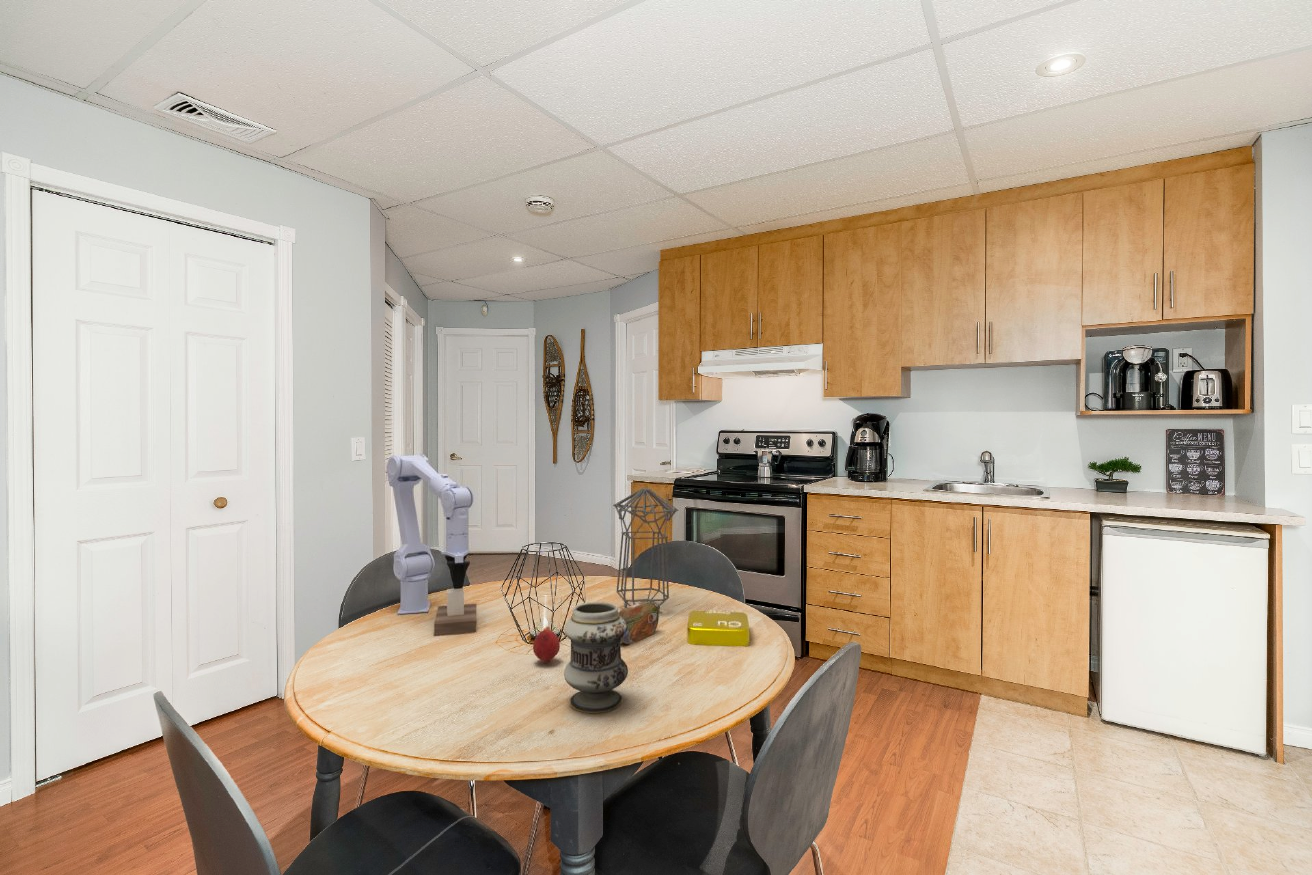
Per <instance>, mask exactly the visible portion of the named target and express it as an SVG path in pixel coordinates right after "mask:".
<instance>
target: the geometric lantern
mask: <svg viewBox="0 0 1312 875" xmlns="http://www.w3.org/2000/svg"><path fill="white" fill-rule="evenodd" d="M642 497H643V498H642ZM642 499H643V502H642V505H639V503H640V501H641V500H642ZM651 499H652V500H653V502H654V503H655V504H653V502H652V501H651ZM647 500H648V502H649V504H647ZM633 504H634V505H633ZM612 506H613V507H614V508H615V510H616V513H617V515H618V519H619V520H620V524H621V532H620V533H621V538H620V550H619V560H618V570H617V572H618V573H617V582H616V584H617V585H616V594H617V595H618V596H619V598H621V600H622V601H623V604H624V606H623V609H624V608H627V607H629V606H632V605H631V604H630V603H631V602H632V604H633V605H635V604H636V603H640V602H652V603H654V604H655V605H656V607H657V609H658V613H661V612H660V611H661V610H660V609H661V606H662V605H663V604H664V603H665V602H666V601H667V600H668V599H670V593H669V591H670V590H669V558H668V557H669V556H668V555H669V554H668V552H669V551H668V549H669V548H668V536H667V535H666V530H667V524H668V523H667V522H670V521H671V518H673V517H674V515H675V514H676V512H679V509H678V508H676V507H675V506H674V505H672V504H671V503H670V502H668V501H667V500H665V499H664V497H661V495H659V494H657V493H656V492H655V491H653V490H652V489H650V488H648V487H645V488H644V487H643V488H640V489H639V490H637V491H636V492H634V493H632V494H630V495H629V496H626V497H625V498H623V499H621V500H620V501H618V502H616V503H615V504H613V505H612ZM658 506H659V507H661V508H662V510H660V511H659V510H658V511H655V509H656V508H658ZM630 508H631V510H629V509H630ZM647 508H651V509H650V510H649V511H647ZM637 512H638V513H642V514H643V515H641V514H638V513H637ZM627 513H628V514H630V515H631V516H632V518H631V521H630V522H629V524H628V527H627V525H626V522H625V517H626V514H627ZM661 513H662V514H663V515H661V516H659V517H658V518H657V516H656V514H661ZM649 514H650V515H651V514H654V515H653V517H654V519H653V520H647V519H646V517H647V516H649ZM635 517H637V518H639V519H640V520H641V521H642V523H641V524H640V526H639V527H638V528H637V530H636V531H629V529H630V528H631V526H632V524H633V522H634V519H635ZM663 518H664V519H663ZM662 519H663V520H662ZM660 520H662V523H661V525H660V526H659V524H658V521H660ZM653 523H655V526H656V527H657V530H658V531H654V529H653V527H652V526H651V525H650V524H653ZM644 524H648V526H649V528H650V531H649V530H648V531H642V530H641V531H640V529H641V528H642V526H643V525H644ZM664 524H665V526H664ZM623 526H624V527H623ZM663 526H664V534H663V533H662V531H661V530H662V528H663ZM624 529H625V531H624ZM641 533H642V534H645V533H646V534H647V533H649V534H650V533H652V536H651V537H635V535H636V534H641ZM630 534H633V535H632V536H630ZM655 534H656V535H657V537H656V536H655ZM624 536H625V540H624ZM651 539H652V542H651V543H652V546H651V561H650V562H651V564H650V565H651V566H650V567H651V568H650V584H649V587H647V588H646V587H645V588H642V587H641V588H635V556H636V555H635V554H636V552H635V547H636V546H635V545H636V544H635V543H636V542H635V540H651ZM664 539H665V551H664ZM631 540H632V558H631V559H632V564H631V565H632V572H631V577H632V579H631V588H627V582H628V581H627V580H628V571H629V570H628V568H629V558H630V557H629V556H630V543H631ZM655 540H657V588H653V578H654V577H653V575H654V574H653V573H654V556H655V555H654V554H655ZM624 541H625V542H624ZM660 541H661V542H660ZM660 543H661V544H660ZM623 544H624V546H623ZM660 545H661V547H660ZM623 547H624V552H623ZM660 548H661V553H660ZM664 552H665V554H664ZM660 554H661V559H660ZM622 555H623V561H622ZM664 560H665V561H664ZM660 562H661V563H660ZM621 565H622V572H621ZM660 566H661V567H660ZM661 570H662V571H661ZM665 571H666V573H665ZM661 572H662V590H661ZM620 575H622V576H620ZM620 577H621V578H620ZM665 577H666V583H665ZM620 579H621V582H620ZM620 583H621V586H620ZM665 584H666V585H665ZM665 586H666V587H665ZM619 587H620V589H619ZM665 588H666V589H665ZM635 591H649V592H648V594H647V598H641V599H635ZM651 591H655V594H654V595H653V596H652V597H651V598H650V596H651ZM626 592H631V599H628V598H626V595H627V594H626ZM659 593H660V594H661V595H662V598H659V599H658V598H656V599H655V597H656V596H657V594H659ZM629 602H630V603H629ZM657 602H661V603H657Z"/></svg>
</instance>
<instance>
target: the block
mask: <svg viewBox="0 0 1312 875" xmlns="http://www.w3.org/2000/svg"><path fill="white" fill-rule="evenodd" d="M464 602H465V591H464V588H461V589H454V588H447V589H446V606H447V615H448V616H454V615H464V604H465V603H464Z"/></svg>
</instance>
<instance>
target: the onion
mask: <svg viewBox="0 0 1312 875" xmlns="http://www.w3.org/2000/svg"><path fill="white" fill-rule="evenodd" d="M560 642H561V641H560V639H559V637H558V635H557V634H556V633H555V632H554V631H552V630H551V627H550V626H548V625H546V626H545V627H544V628H543V630H542V631H541V632H539V633H538V634H537V635H536V637H535V638H534V639H533V644H532V645H533V646H532V649H533V650H532V651H533V653H534V656H535V657H536V658H537V659H539V660H540V661H541V662H543V663H545V664H548V663H550V661H552V660H553V659H554V658H555V657H556V656H557V655H558V654H559V652H560V647H561V644H560Z"/></svg>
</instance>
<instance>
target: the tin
mask: <svg viewBox="0 0 1312 875" xmlns="http://www.w3.org/2000/svg"><path fill="white" fill-rule="evenodd" d="M656 606H657V605H656V604H655V603H653V602H652V601H651V602H650V601H649V602H636V603H635V605H634V604H633V605H631V606H629V605H628V606H627V608H624V607H623V608H622V609H620V610H618V613H619V616H621V617H622V618H623V619H624V620H625V622H626V624H627V631H626V633H625V635H624V636H623V637H622V638H621V643H622V644H626V645H633V644H635V643H638V642H640V641H642V640H644V639H647V638H648V637H651V636H652V635H653V634H654V633H655V632H656V630H657V628H658V625H659V619H660V618H659V615H660V614H659V613H660V612H659V613H658V609H657V607H656ZM621 643H620V644H621Z"/></svg>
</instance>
